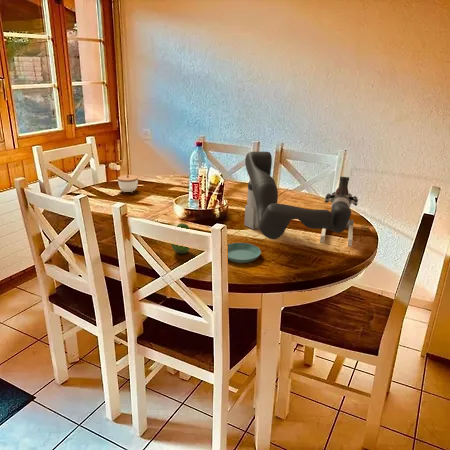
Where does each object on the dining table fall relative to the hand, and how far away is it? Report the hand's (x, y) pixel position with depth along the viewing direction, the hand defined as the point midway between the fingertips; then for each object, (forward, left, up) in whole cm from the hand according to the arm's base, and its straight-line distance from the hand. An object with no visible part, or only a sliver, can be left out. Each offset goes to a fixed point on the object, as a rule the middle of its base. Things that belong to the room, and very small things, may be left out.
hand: (341, 194), depth 189 cm
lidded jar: (-62, +95, -13) cm, 114 cm away
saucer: (-60, -4, -14) cm, 62 cm away
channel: (-14, -11, -13) cm, 22 cm away
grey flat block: (-2, -1, -13) cm, 13 cm away
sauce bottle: (-4, -3, -11) cm, 12 cm away
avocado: (-77, +11, -13) cm, 79 cm away
